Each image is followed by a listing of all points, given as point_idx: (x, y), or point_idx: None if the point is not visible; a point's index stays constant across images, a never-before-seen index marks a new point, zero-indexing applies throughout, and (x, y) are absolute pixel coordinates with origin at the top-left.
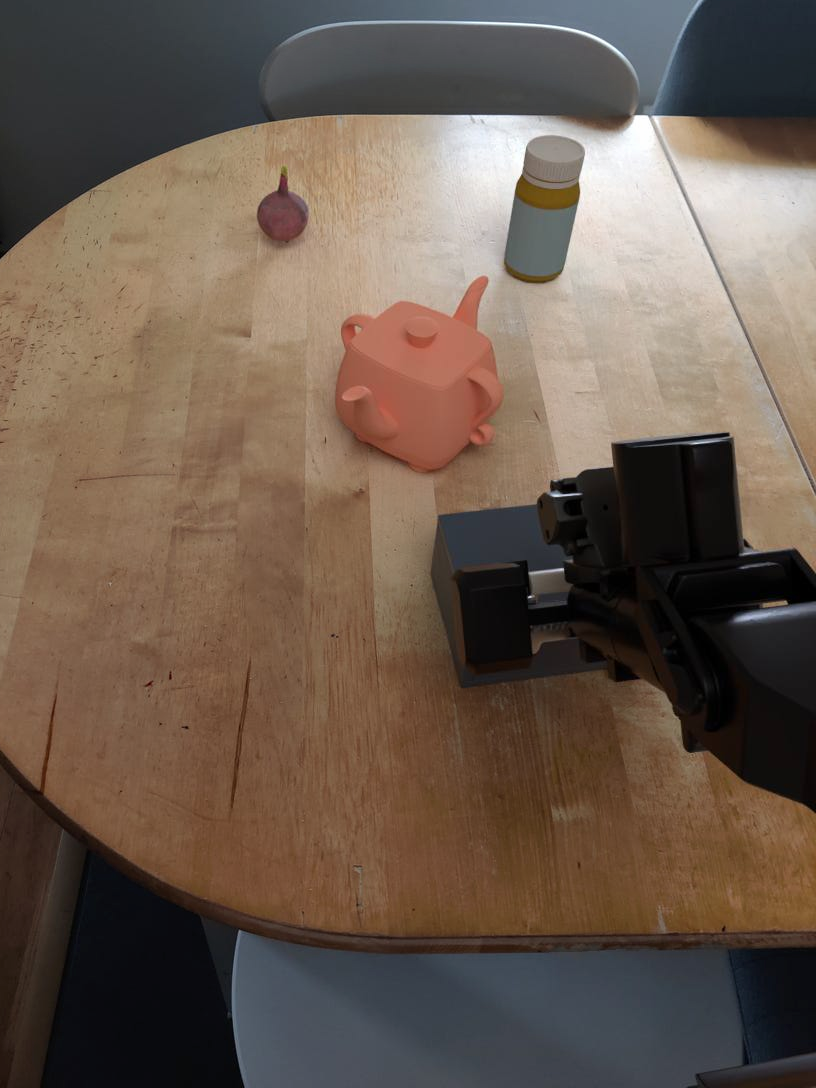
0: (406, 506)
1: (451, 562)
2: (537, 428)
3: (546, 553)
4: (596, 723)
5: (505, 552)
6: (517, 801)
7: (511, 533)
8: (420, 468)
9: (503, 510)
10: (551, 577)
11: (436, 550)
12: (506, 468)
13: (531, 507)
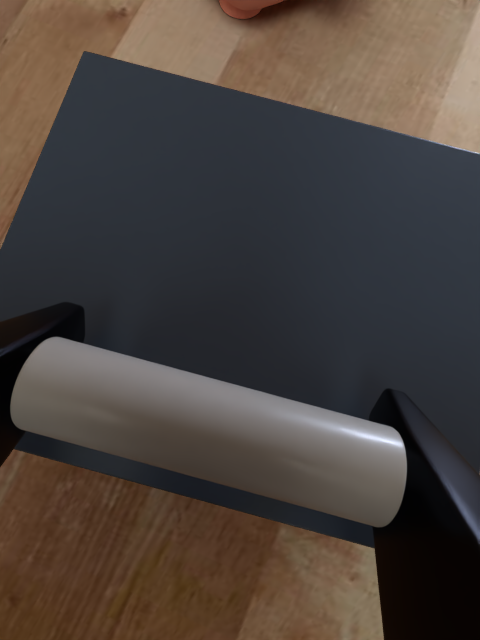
0: (174, 63)
1: (30, 181)
2: (454, 14)
3: (272, 252)
4: (238, 544)
5: (172, 209)
6: (33, 620)
7: (222, 165)
8: (230, 8)
9: (243, 100)
10: (102, 418)
11: None
12: (364, 61)
13: (314, 119)
